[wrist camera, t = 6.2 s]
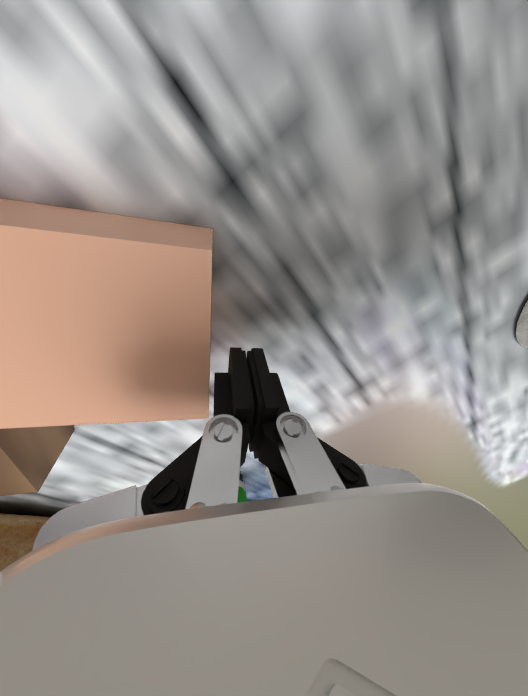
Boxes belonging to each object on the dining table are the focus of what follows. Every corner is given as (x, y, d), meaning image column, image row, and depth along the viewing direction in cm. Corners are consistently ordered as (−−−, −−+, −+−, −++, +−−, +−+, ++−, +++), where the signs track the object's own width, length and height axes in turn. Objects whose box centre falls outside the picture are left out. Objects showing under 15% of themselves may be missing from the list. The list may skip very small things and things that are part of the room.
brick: (212, 228, 11) (212, 250, 7) (210, 354, 16) (208, 418, 11) (-40, 192, 9) (-282, 190, 5) (39, 352, 13) (-47, 430, 9)
